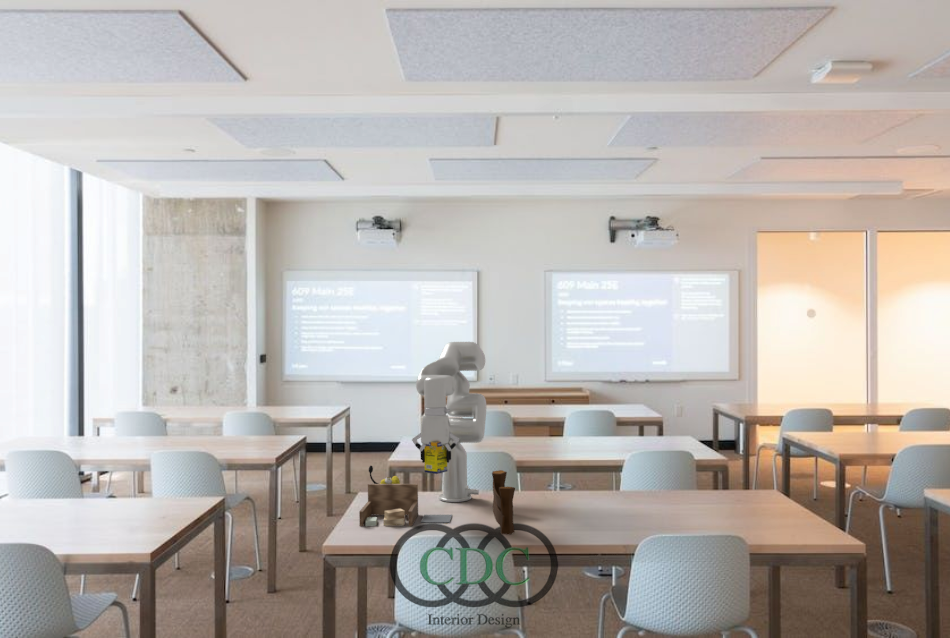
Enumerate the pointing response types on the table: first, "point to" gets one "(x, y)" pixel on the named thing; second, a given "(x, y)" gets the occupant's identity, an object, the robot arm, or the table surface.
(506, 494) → the decorative fence
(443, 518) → the pad
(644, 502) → the table surface
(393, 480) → the toy
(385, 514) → the offcut
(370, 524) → the offcut
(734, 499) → the table surface
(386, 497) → the rack
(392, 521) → the offcut
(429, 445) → the supplement box
